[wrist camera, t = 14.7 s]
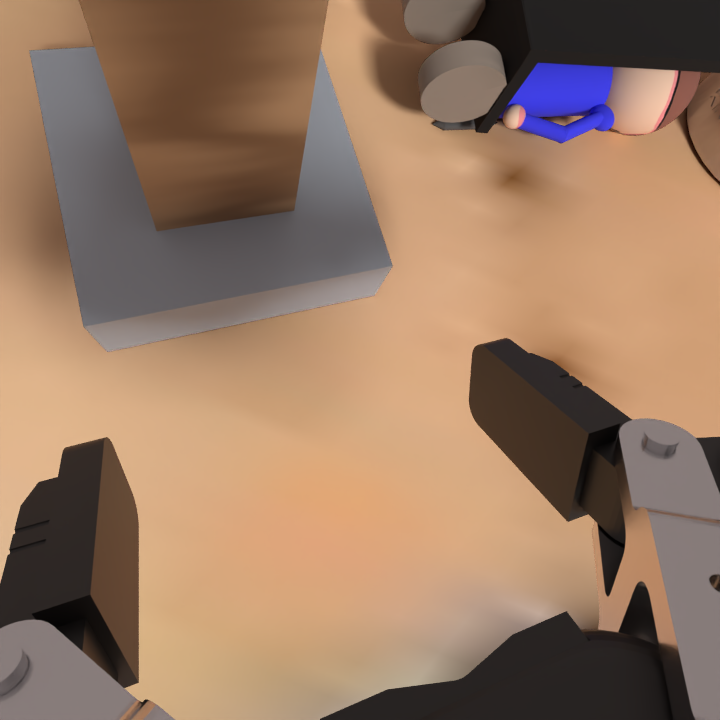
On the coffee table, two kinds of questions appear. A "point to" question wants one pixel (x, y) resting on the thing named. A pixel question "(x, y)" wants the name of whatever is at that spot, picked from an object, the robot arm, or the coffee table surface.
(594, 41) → the figurine character
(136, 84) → the walnut block
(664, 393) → the coffee table surface
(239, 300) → the blue-grey square slab
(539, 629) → the robot arm
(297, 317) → the coffee table surface
